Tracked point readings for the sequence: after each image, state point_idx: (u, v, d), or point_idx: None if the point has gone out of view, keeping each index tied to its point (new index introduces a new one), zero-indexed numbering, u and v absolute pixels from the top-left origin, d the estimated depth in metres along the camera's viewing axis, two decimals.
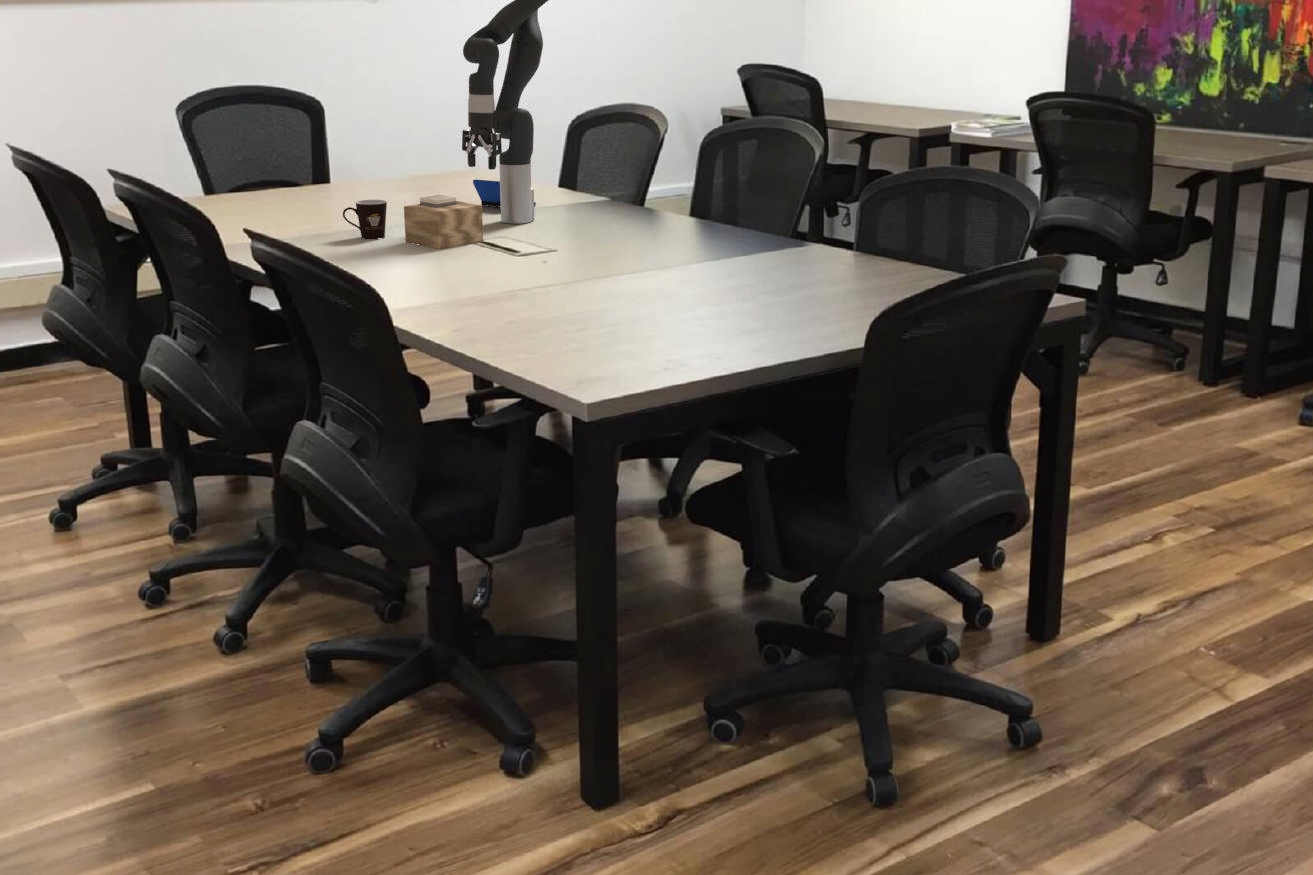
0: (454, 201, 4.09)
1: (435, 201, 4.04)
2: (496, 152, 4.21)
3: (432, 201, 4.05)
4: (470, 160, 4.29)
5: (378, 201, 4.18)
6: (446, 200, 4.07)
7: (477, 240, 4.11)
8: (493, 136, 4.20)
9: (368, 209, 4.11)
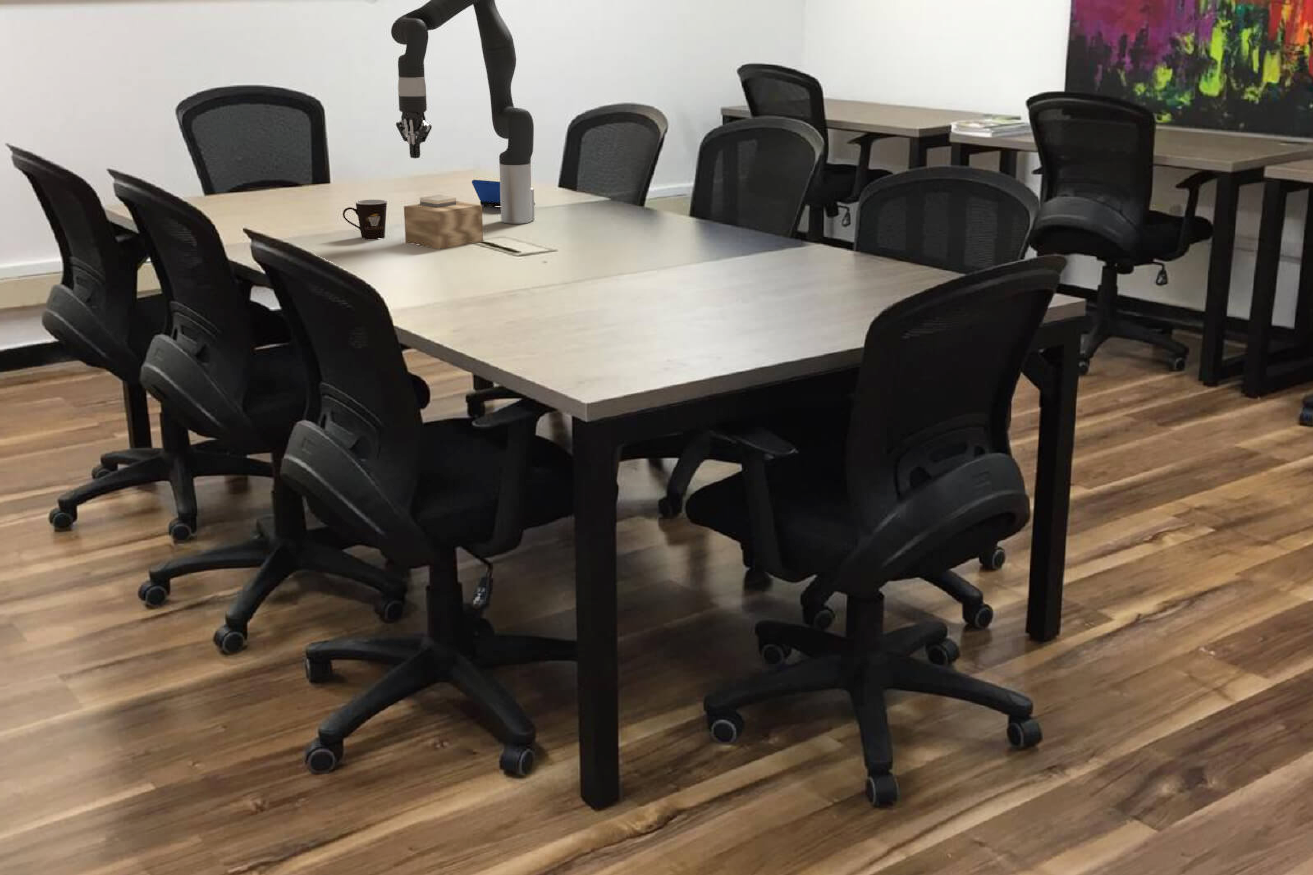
0: (454, 201, 4.09)
1: (435, 201, 4.04)
2: (419, 140, 4.07)
3: (432, 201, 4.05)
4: None
5: (378, 201, 4.18)
6: (446, 200, 4.07)
7: (477, 240, 4.11)
8: (423, 128, 4.04)
9: (368, 209, 4.11)
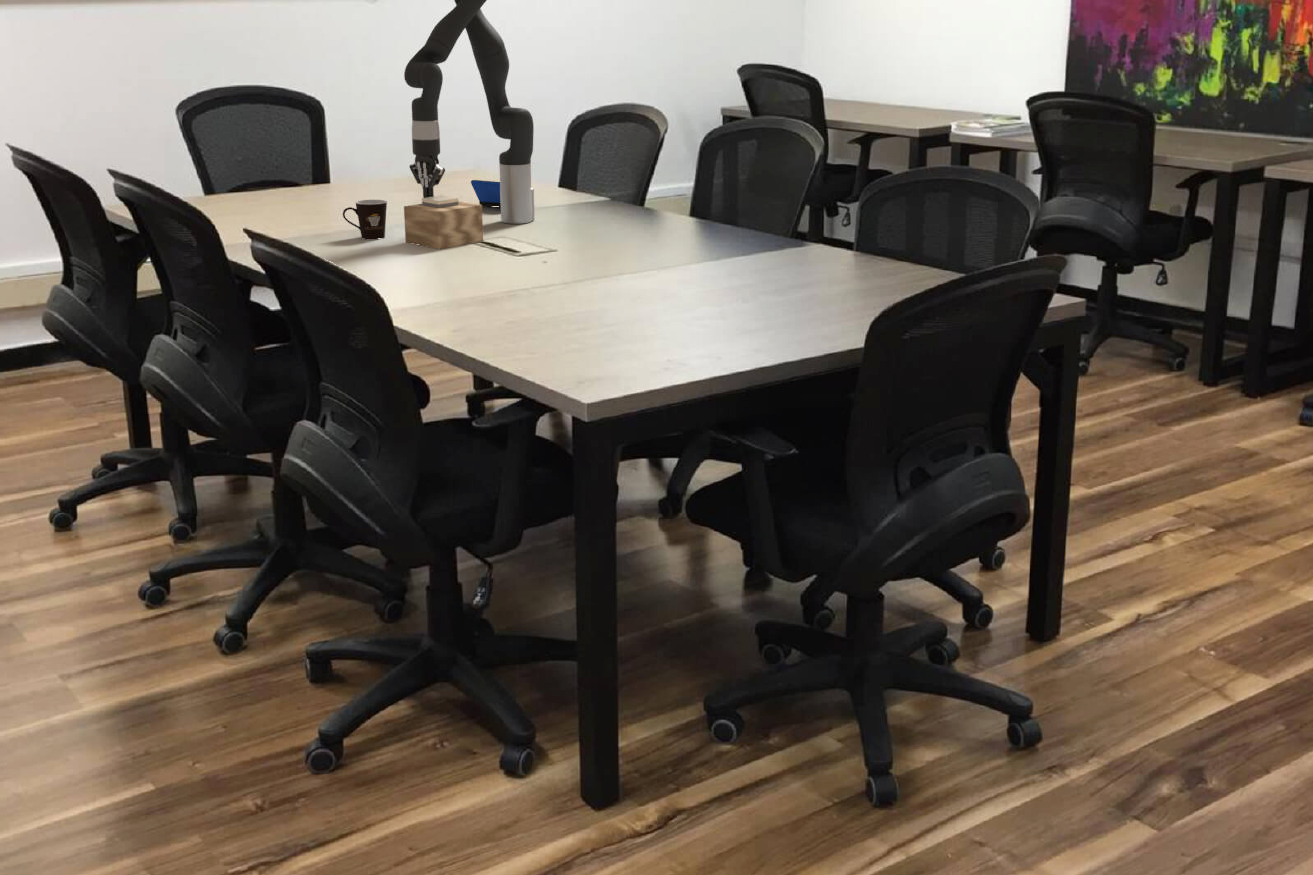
0: (456, 202, 4.08)
1: (437, 201, 4.04)
2: (432, 183, 4.07)
3: (434, 201, 4.05)
4: None
5: (378, 201, 4.18)
6: (448, 200, 4.06)
7: (477, 240, 4.11)
8: (436, 171, 4.05)
9: (368, 209, 4.11)
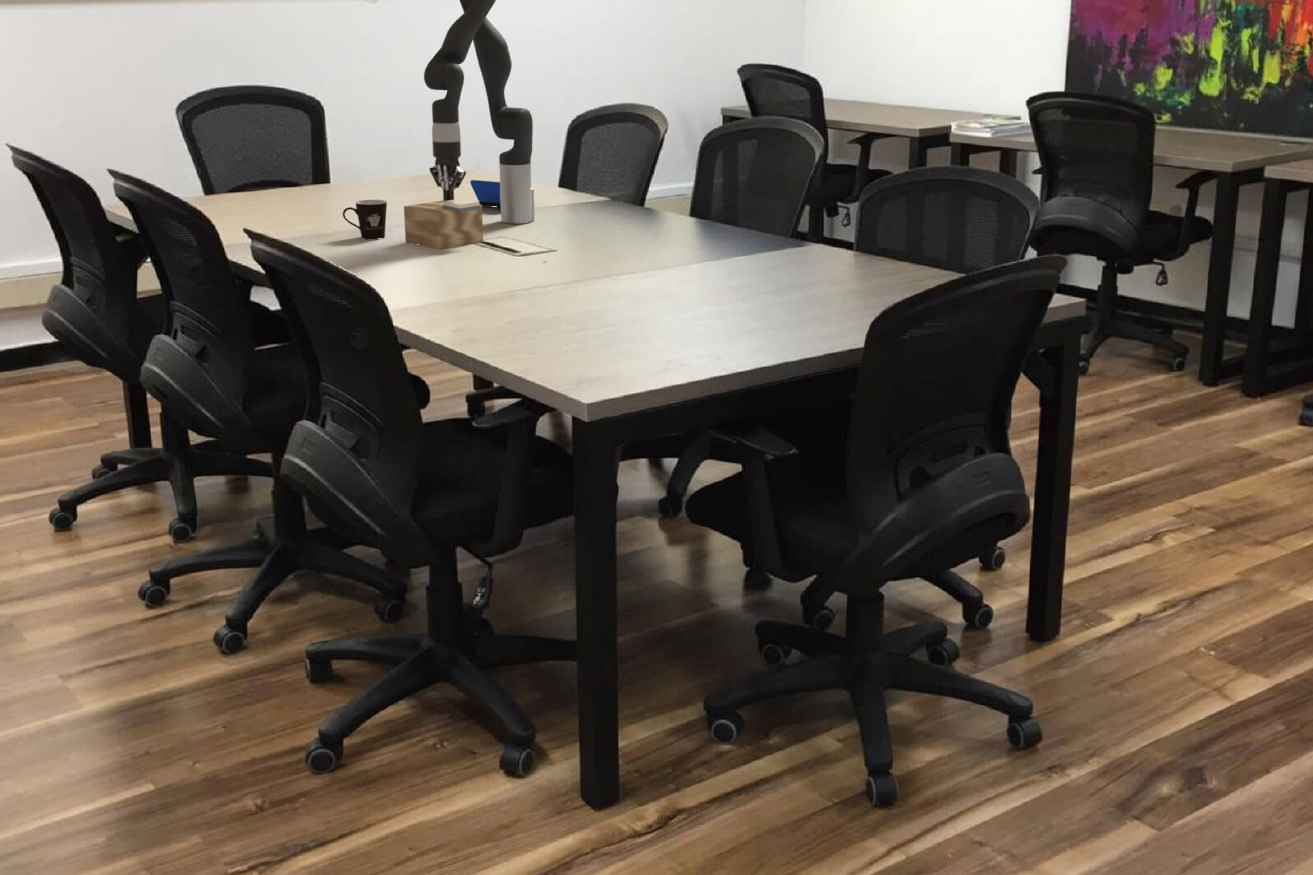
0: (477, 206, 4.03)
1: (458, 205, 3.98)
2: (453, 186, 4.02)
3: (455, 205, 3.99)
4: None
5: (378, 201, 4.18)
6: (469, 204, 4.01)
7: (477, 240, 4.11)
8: (457, 174, 3.99)
9: (368, 209, 4.11)
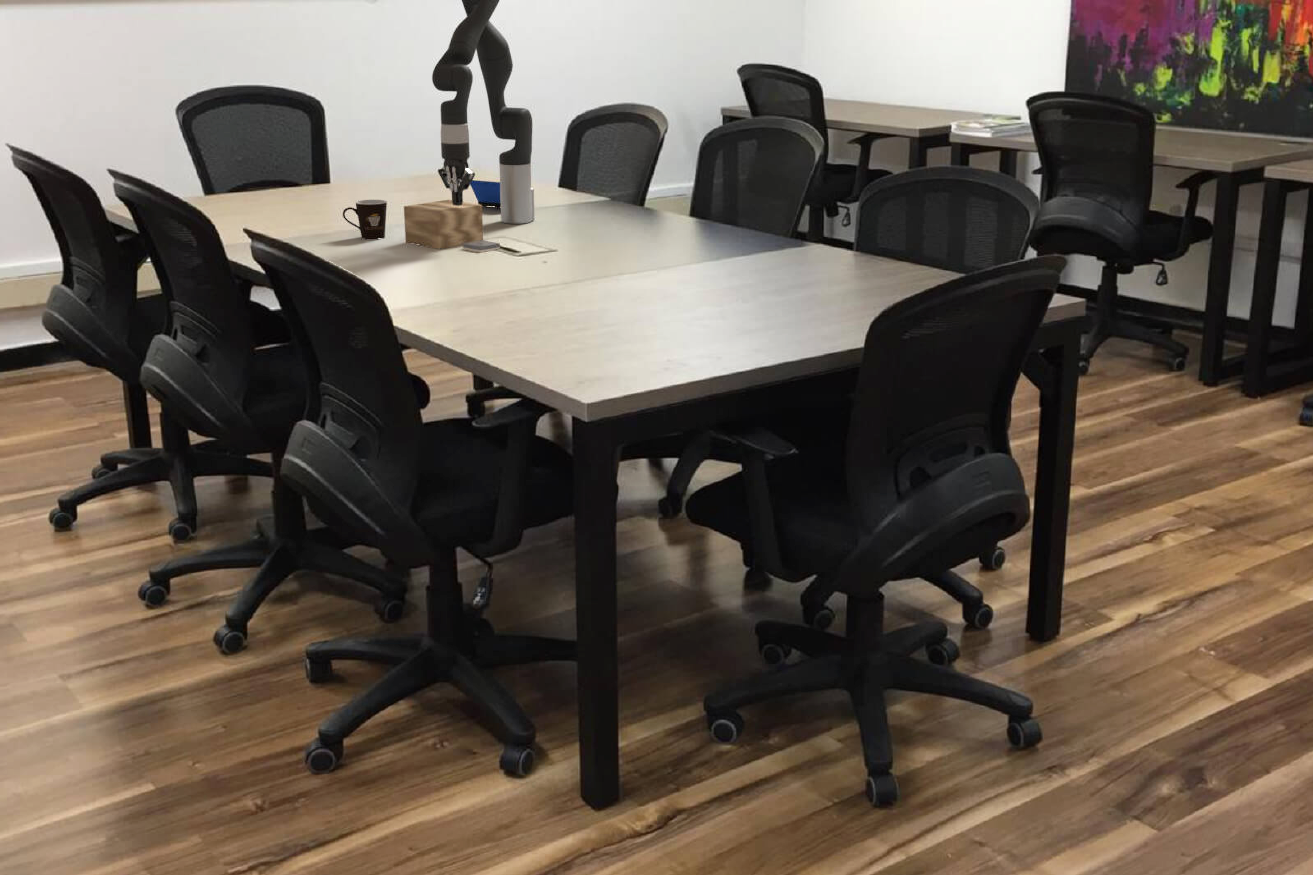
0: None
1: (464, 249, 4.01)
2: (462, 188, 4.00)
3: (467, 249, 4.00)
4: None
5: (378, 201, 4.18)
6: None
7: (477, 240, 4.11)
8: (466, 176, 3.97)
9: (368, 209, 4.11)
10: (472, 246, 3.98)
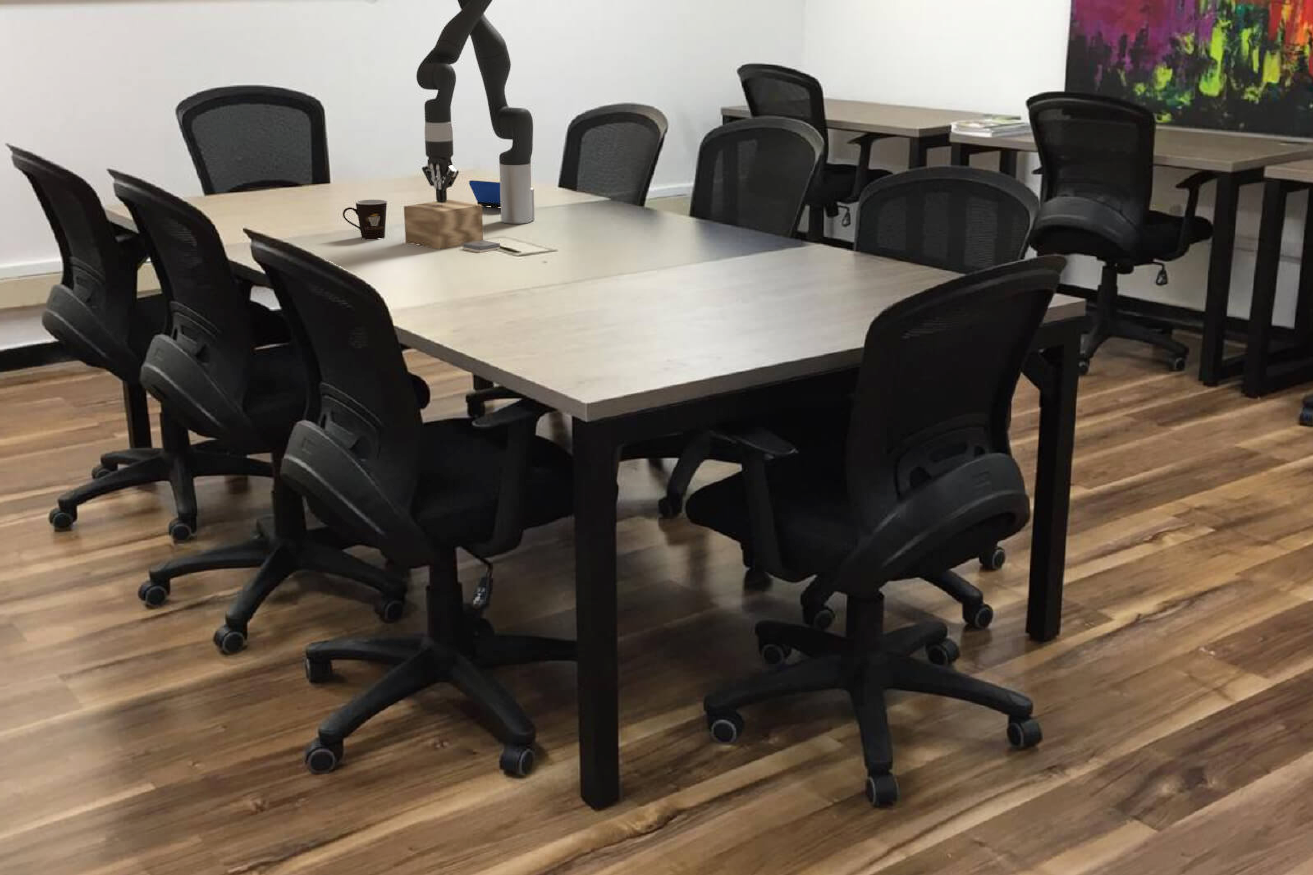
0: None
1: (464, 249, 4.01)
2: (446, 185, 4.04)
3: (467, 249, 4.00)
4: None
5: (378, 201, 4.18)
6: None
7: (477, 240, 4.11)
8: (450, 173, 4.02)
9: (368, 209, 4.11)
10: (472, 246, 3.98)
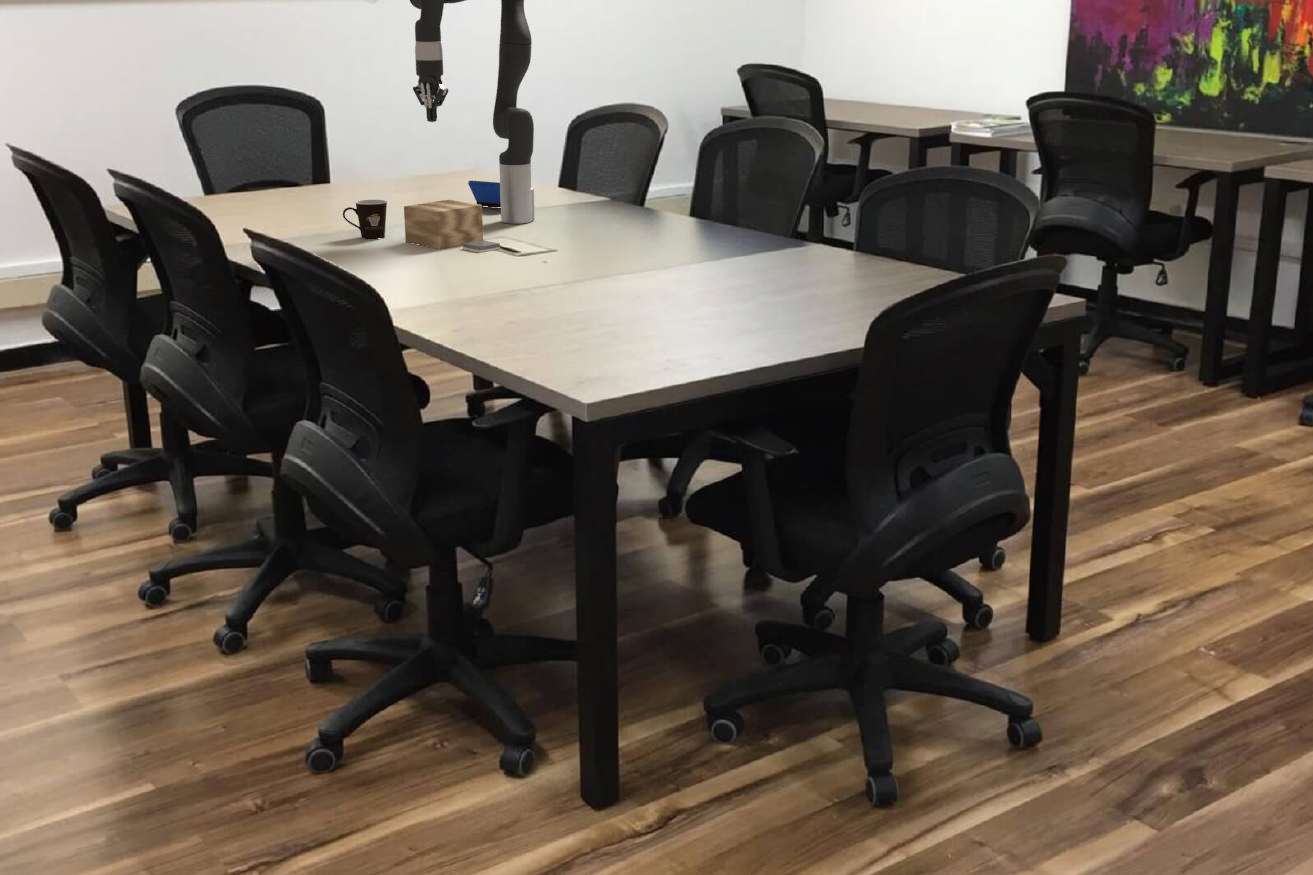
0: None
1: None
2: (436, 104, 4.14)
3: (467, 249, 4.00)
4: None
5: (378, 201, 4.18)
6: None
7: (477, 240, 4.11)
8: (439, 92, 4.11)
9: (368, 209, 4.11)
10: (472, 246, 3.98)
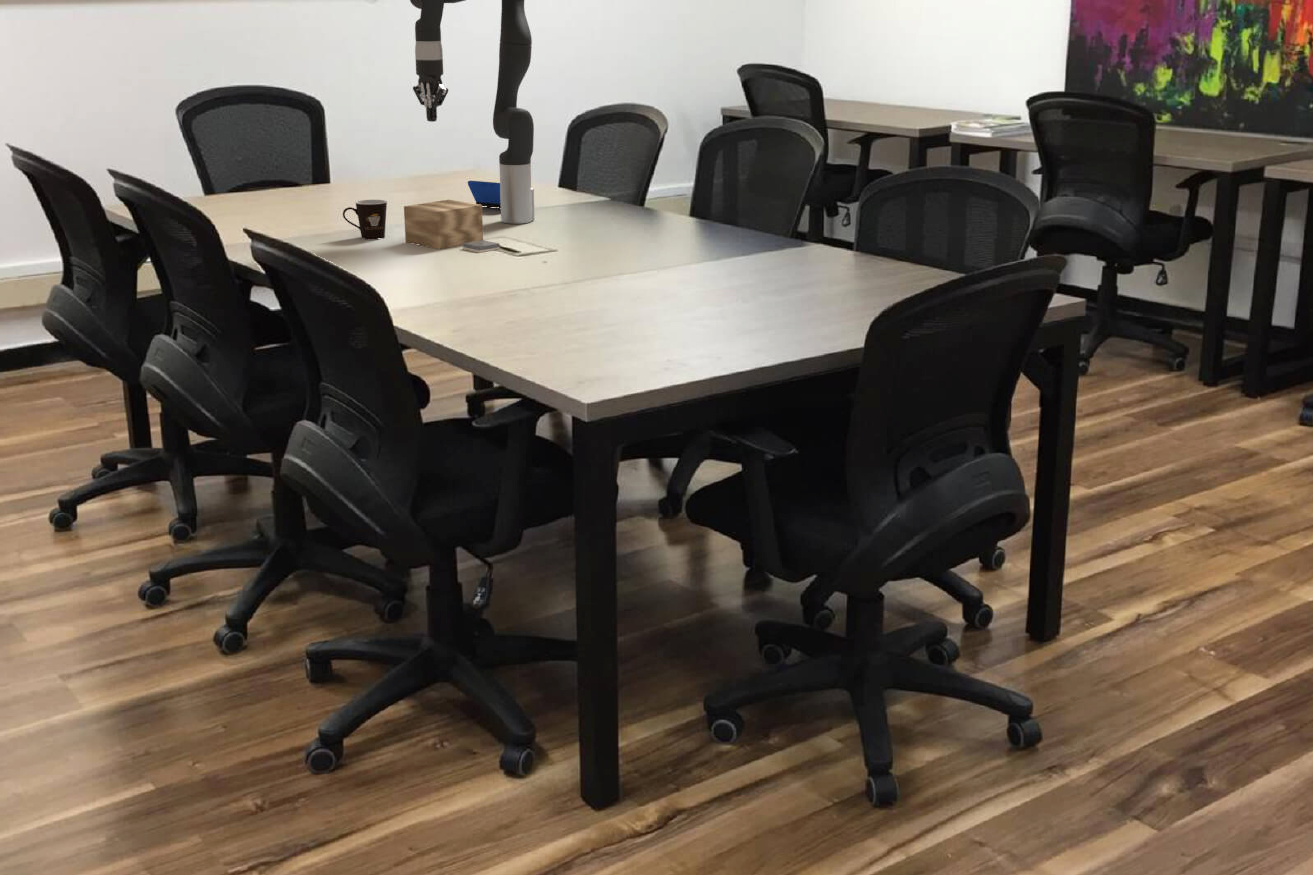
0: None
1: None
2: (436, 103, 4.14)
3: (467, 249, 4.00)
4: None
5: (378, 201, 4.18)
6: None
7: (477, 240, 4.11)
8: (439, 91, 4.11)
9: (368, 209, 4.11)
10: (471, 246, 3.98)
